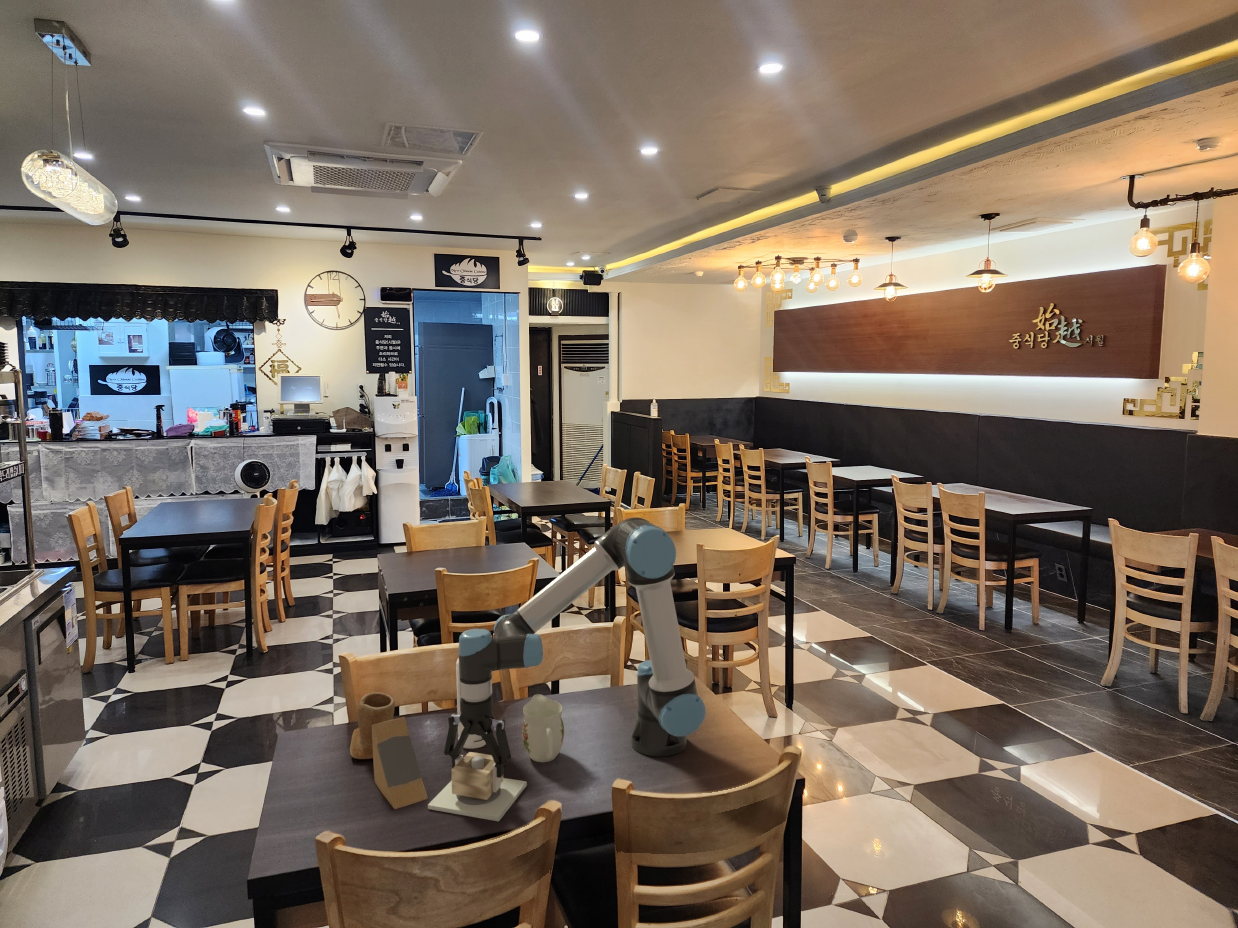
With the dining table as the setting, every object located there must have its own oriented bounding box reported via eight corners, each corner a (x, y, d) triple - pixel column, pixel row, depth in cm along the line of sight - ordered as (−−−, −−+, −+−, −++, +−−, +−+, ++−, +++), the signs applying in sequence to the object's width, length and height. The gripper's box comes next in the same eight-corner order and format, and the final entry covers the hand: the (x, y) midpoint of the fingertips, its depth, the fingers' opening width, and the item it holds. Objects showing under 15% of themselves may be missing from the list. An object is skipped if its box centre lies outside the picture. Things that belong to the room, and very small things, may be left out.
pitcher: (529, 777, 197) (528, 725, 195) (518, 744, 214) (517, 696, 212) (572, 771, 200) (571, 719, 198) (557, 739, 217) (557, 691, 215)
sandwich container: (393, 810, 183) (391, 749, 181) (373, 781, 195) (370, 724, 193) (429, 798, 188) (427, 739, 186) (407, 771, 200) (404, 715, 198)
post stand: (526, 785, 193) (526, 748, 192) (498, 821, 178) (498, 781, 177) (460, 774, 198) (459, 738, 197) (427, 808, 183) (426, 770, 182)
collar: (503, 780, 191) (503, 756, 190) (486, 799, 182) (486, 775, 181) (469, 774, 193) (469, 751, 193) (452, 793, 185) (451, 769, 184)
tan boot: (395, 759, 206) (393, 704, 204) (347, 764, 203) (345, 709, 202) (398, 733, 221) (396, 682, 219) (353, 737, 218) (351, 686, 216)
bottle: (491, 735, 219) (489, 638, 216) (483, 749, 211) (481, 648, 208) (463, 733, 220) (460, 637, 217) (454, 747, 212) (451, 647, 209)
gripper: (525, 694, 185) (526, 784, 188) (442, 684, 192) (445, 771, 194) (512, 707, 178) (513, 801, 181) (426, 696, 184) (429, 786, 187)
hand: (478, 785), depth 188 cm, fingers closed on collar, 9 cm apart
